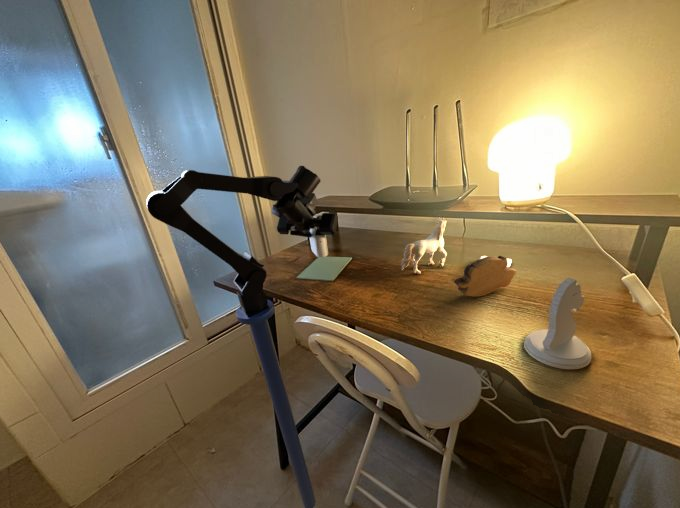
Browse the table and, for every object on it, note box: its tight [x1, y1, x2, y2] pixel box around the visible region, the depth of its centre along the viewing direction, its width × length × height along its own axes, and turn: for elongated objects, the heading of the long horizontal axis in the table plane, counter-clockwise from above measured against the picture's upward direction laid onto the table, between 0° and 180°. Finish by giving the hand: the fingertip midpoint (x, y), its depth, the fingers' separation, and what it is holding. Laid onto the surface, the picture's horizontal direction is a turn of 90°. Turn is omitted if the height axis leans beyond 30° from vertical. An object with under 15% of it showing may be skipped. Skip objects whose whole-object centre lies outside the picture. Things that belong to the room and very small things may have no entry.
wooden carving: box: [453, 255, 517, 298], centre depth 73 cm, size 16×5×10 cm, turn 110°
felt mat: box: [295, 255, 353, 282], centre depth 103 cm, size 18×13×1 cm
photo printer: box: [309, 215, 329, 258], centre depth 100 cm, size 10×4×12 cm, turn 16°
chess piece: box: [523, 277, 592, 370], centre depth 52 cm, size 10×10×15 cm
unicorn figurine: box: [400, 216, 448, 275], centre depth 90 cm, size 7×20×13 cm, turn 128°
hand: (317, 236), depth 96 cm, fingers closed on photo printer, 4 cm apart
